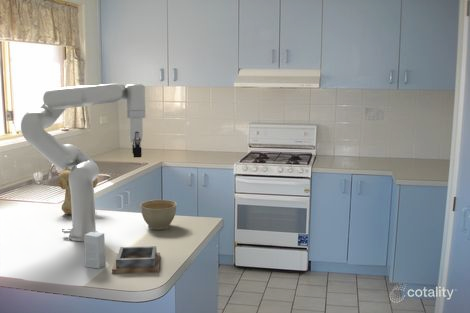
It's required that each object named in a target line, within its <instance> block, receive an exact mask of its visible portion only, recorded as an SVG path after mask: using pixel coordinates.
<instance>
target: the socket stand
mask: <svg viewBox="0 0 470 313" xmlns="http://www.w3.org/2000/svg"><path fill="white" fill-rule="evenodd" d="M160 259H161V252H157V245H156V246H155V245H154V246H120V247H119V250H118V253H117V254H116V257H115V260H114V263H113V265H112V268H111V274H113V275H114V274H116V275H117V274H138V273H139V274H140V273H141V274H143V273H144V274H145V273H146V274H147V273H159V269H160Z"/></svg>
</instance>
